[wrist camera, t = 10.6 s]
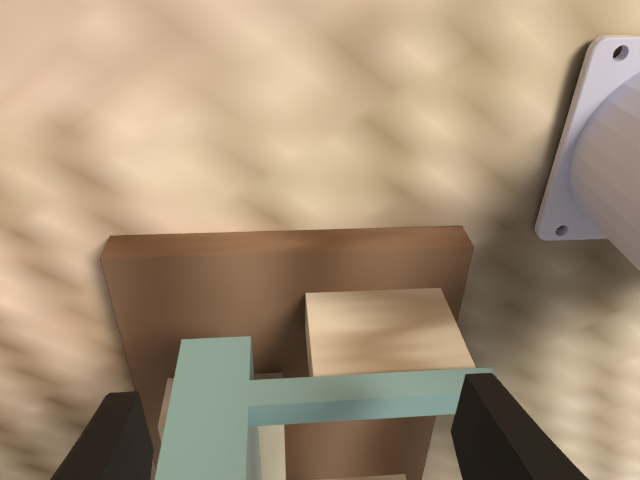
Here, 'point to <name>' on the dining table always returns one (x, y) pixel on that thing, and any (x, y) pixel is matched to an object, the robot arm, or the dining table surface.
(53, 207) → the dining table surface
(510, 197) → the dining table surface
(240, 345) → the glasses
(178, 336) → the display stand
